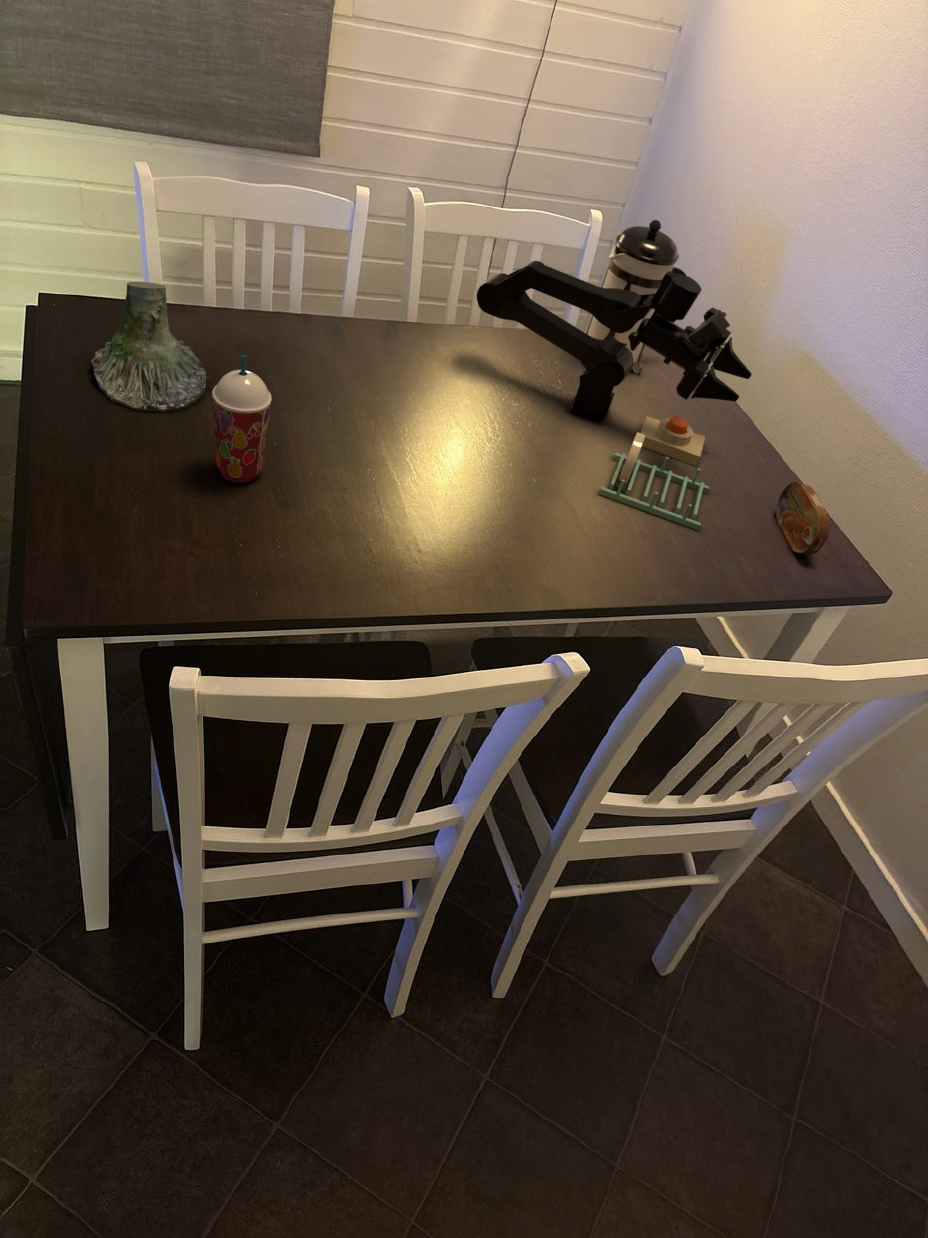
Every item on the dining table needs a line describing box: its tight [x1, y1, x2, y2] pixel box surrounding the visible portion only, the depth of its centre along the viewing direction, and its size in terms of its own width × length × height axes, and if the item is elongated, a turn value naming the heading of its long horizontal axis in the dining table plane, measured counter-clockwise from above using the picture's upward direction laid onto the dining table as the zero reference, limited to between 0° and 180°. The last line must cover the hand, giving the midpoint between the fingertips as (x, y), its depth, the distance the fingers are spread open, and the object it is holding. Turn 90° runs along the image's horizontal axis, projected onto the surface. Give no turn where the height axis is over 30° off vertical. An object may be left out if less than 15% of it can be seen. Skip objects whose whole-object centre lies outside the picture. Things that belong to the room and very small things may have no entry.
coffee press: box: [586, 219, 688, 375], centre depth 183 cm, size 17×16×30 cm
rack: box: [599, 452, 710, 531], centre depth 158 cm, size 18×13×4 cm
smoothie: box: [211, 354, 273, 484], centre depth 132 cm, size 8×8×20 cm
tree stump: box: [90, 281, 207, 413], centre depth 149 cm, size 18×20×18 cm
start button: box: [667, 416, 689, 434], centre depth 169 cm, size 4×4×2 cm
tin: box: [775, 481, 831, 555], centre depth 155 cm, size 15×3×8 cm, turn 5°
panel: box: [639, 415, 706, 467], centre depth 171 cm, size 12×8×4 cm, turn 73°
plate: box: [615, 431, 646, 491], centre depth 156 cm, size 2×9×10 cm, turn 163°
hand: (744, 387), depth 160 cm, fingers open, 9 cm apart
